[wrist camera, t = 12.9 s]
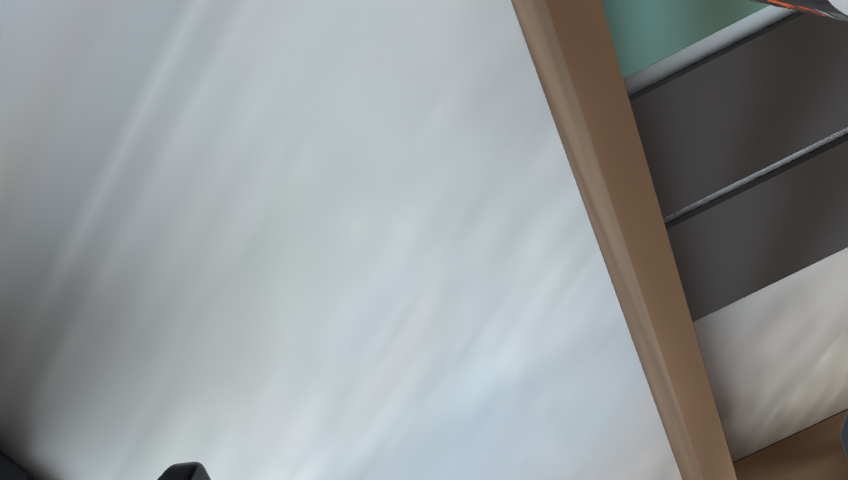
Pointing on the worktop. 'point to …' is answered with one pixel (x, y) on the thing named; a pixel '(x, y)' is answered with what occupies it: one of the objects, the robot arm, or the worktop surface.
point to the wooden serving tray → (701, 186)
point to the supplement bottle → (814, 7)
